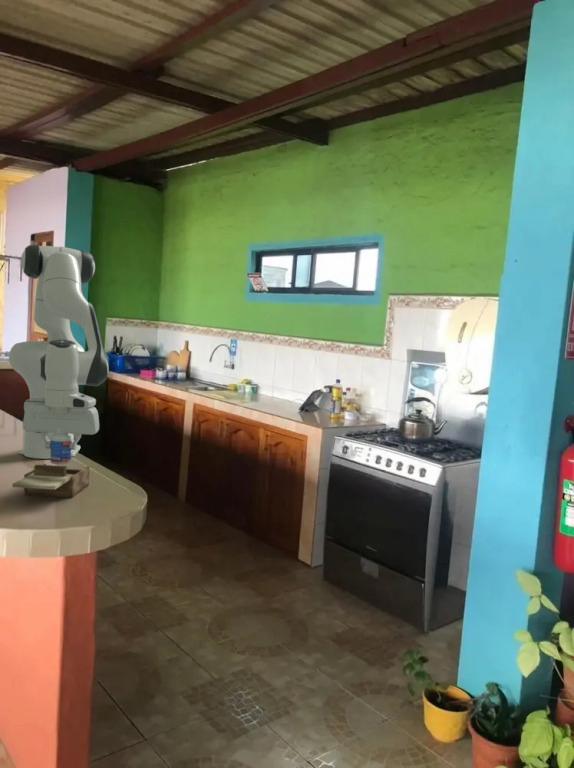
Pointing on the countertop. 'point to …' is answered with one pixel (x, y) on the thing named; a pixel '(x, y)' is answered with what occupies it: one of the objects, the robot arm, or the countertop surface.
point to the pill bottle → (60, 448)
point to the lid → (44, 477)
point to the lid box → (64, 485)
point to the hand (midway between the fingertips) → (61, 448)
